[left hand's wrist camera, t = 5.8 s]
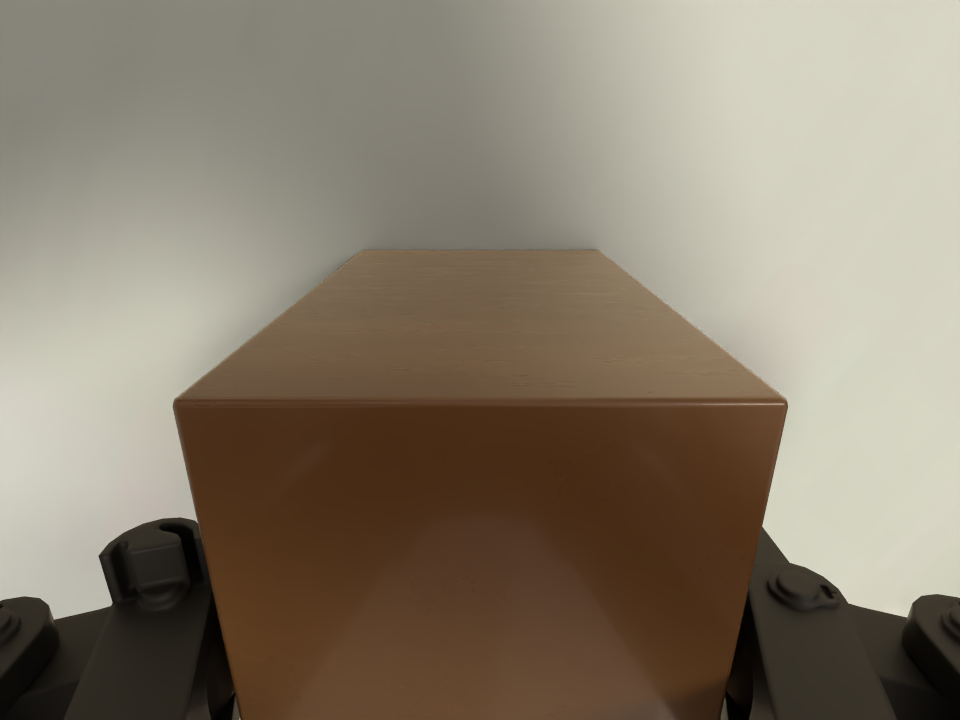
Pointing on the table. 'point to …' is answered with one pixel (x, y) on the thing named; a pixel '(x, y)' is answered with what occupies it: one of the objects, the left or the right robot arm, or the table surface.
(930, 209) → the table surface
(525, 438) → the post
